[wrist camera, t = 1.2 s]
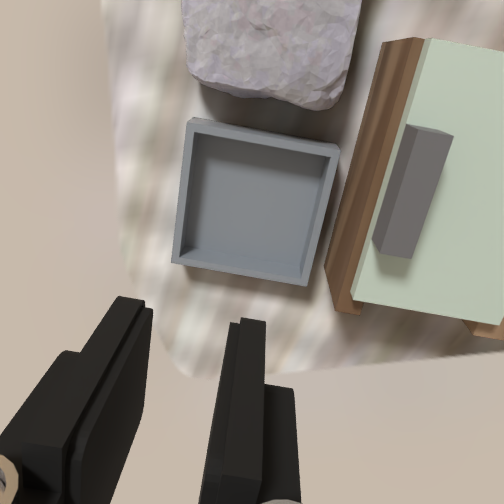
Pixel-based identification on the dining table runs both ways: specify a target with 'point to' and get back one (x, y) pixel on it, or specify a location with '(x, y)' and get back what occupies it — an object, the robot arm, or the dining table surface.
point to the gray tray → (252, 201)
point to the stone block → (272, 47)
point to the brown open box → (375, 175)
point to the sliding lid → (443, 193)
